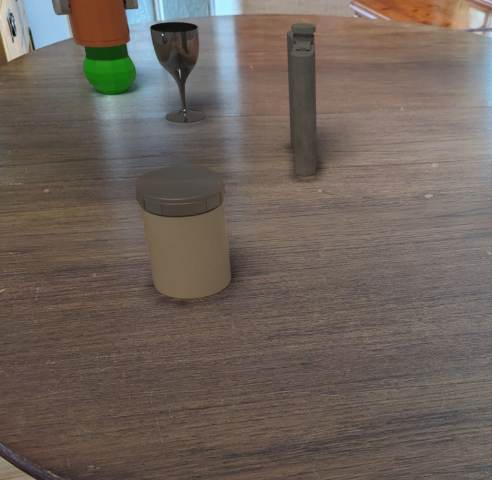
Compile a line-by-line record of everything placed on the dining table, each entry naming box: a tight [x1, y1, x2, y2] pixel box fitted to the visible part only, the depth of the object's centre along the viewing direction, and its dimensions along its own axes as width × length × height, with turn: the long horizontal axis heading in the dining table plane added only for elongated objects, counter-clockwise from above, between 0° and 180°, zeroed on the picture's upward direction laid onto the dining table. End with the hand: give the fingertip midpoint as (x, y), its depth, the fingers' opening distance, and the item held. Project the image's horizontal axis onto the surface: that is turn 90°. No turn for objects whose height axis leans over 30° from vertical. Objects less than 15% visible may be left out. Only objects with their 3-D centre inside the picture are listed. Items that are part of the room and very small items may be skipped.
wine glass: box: [149, 21, 206, 123], centre depth 128 cm, size 8×8×15 cm
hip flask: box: [286, 22, 318, 177], centre depth 112 cm, size 16×4×20 cm, turn 9°
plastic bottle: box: [82, 43, 137, 95], centre depth 135 cm, size 10×10×25 cm
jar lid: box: [134, 165, 226, 216], centre depth 79 cm, size 9×9×2 cm
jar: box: [139, 199, 232, 300], centre depth 82 cm, size 9×9×12 cm
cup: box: [67, 0, 131, 47], centre depth 82 cm, size 6×6×8 cm
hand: (97, 11), depth 83 cm, fingers closed on cup, 6 cm apart
